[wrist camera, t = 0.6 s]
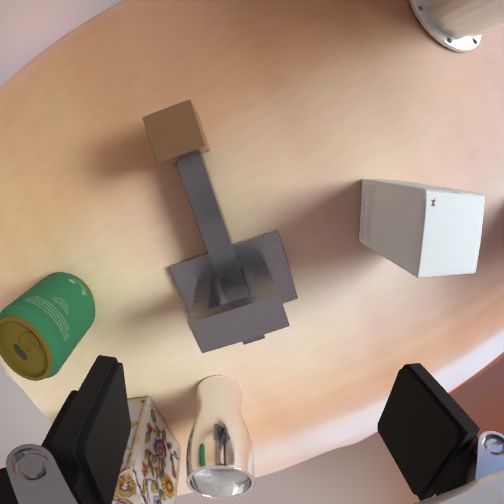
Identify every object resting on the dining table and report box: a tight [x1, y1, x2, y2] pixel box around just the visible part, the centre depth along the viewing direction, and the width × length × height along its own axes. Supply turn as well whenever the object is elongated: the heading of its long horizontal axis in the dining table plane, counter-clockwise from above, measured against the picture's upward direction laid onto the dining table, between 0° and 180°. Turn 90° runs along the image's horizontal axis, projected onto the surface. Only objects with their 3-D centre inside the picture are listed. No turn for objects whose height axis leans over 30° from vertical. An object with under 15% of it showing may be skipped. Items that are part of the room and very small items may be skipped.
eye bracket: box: [170, 230, 298, 353], centre depth 31 cm, size 12×8×10 cm, turn 108°
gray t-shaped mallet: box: [143, 100, 265, 344], centre depth 30 cm, size 4×24×8 cm, turn 18°
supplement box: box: [359, 179, 485, 278], centre depth 29 cm, size 7×7×13 cm
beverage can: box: [0, 272, 95, 381], centre depth 29 cm, size 8×8×12 cm
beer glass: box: [186, 375, 255, 499], centre depth 32 cm, size 7×7×15 cm
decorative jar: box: [112, 396, 181, 504], centre depth 31 cm, size 12×12×18 cm
